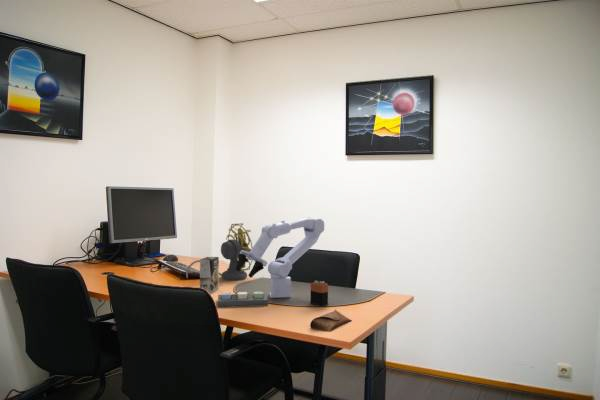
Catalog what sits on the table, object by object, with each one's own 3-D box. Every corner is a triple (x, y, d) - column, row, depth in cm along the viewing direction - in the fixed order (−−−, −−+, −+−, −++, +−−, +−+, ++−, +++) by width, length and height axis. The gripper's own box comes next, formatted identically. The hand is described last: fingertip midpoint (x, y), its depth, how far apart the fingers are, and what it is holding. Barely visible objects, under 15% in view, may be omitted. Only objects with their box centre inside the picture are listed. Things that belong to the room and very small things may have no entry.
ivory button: (246, 298, 215) (246, 292, 215) (247, 300, 211) (247, 294, 211) (237, 299, 214) (237, 292, 214) (237, 301, 210) (237, 294, 210)
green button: (262, 298, 216) (262, 291, 216) (263, 300, 212) (263, 293, 212) (253, 298, 215) (253, 291, 215) (254, 300, 211) (254, 293, 211)
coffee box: (212, 293, 230) (212, 259, 229) (199, 292, 231) (199, 259, 231) (219, 289, 239) (219, 256, 238) (206, 288, 240) (206, 256, 240)
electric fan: (258, 280, 261) (259, 224, 260) (203, 287, 243) (202, 227, 242) (236, 272, 283) (236, 221, 282) (183, 278, 265) (183, 223, 264)
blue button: (230, 299, 214) (230, 292, 214) (230, 301, 210) (230, 294, 210) (221, 299, 213) (221, 292, 213) (221, 301, 209) (221, 294, 209)
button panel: (265, 298, 220) (265, 293, 220) (267, 305, 208) (267, 299, 208) (218, 300, 217) (218, 294, 217) (217, 307, 205) (217, 301, 205)
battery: (321, 306, 208) (322, 283, 207) (310, 303, 212) (310, 280, 212) (328, 304, 211) (328, 281, 211) (316, 301, 216) (316, 279, 215)
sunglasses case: (330, 332, 172) (322, 314, 174) (315, 339, 176) (307, 321, 177) (353, 320, 187) (345, 304, 189) (339, 326, 191) (331, 311, 192)
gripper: (244, 238, 220) (227, 263, 215) (269, 249, 212) (252, 275, 208) (250, 245, 225) (234, 270, 221) (274, 256, 218) (258, 282, 213)
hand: (243, 273), depth 215 cm, fingers open, 7 cm apart
